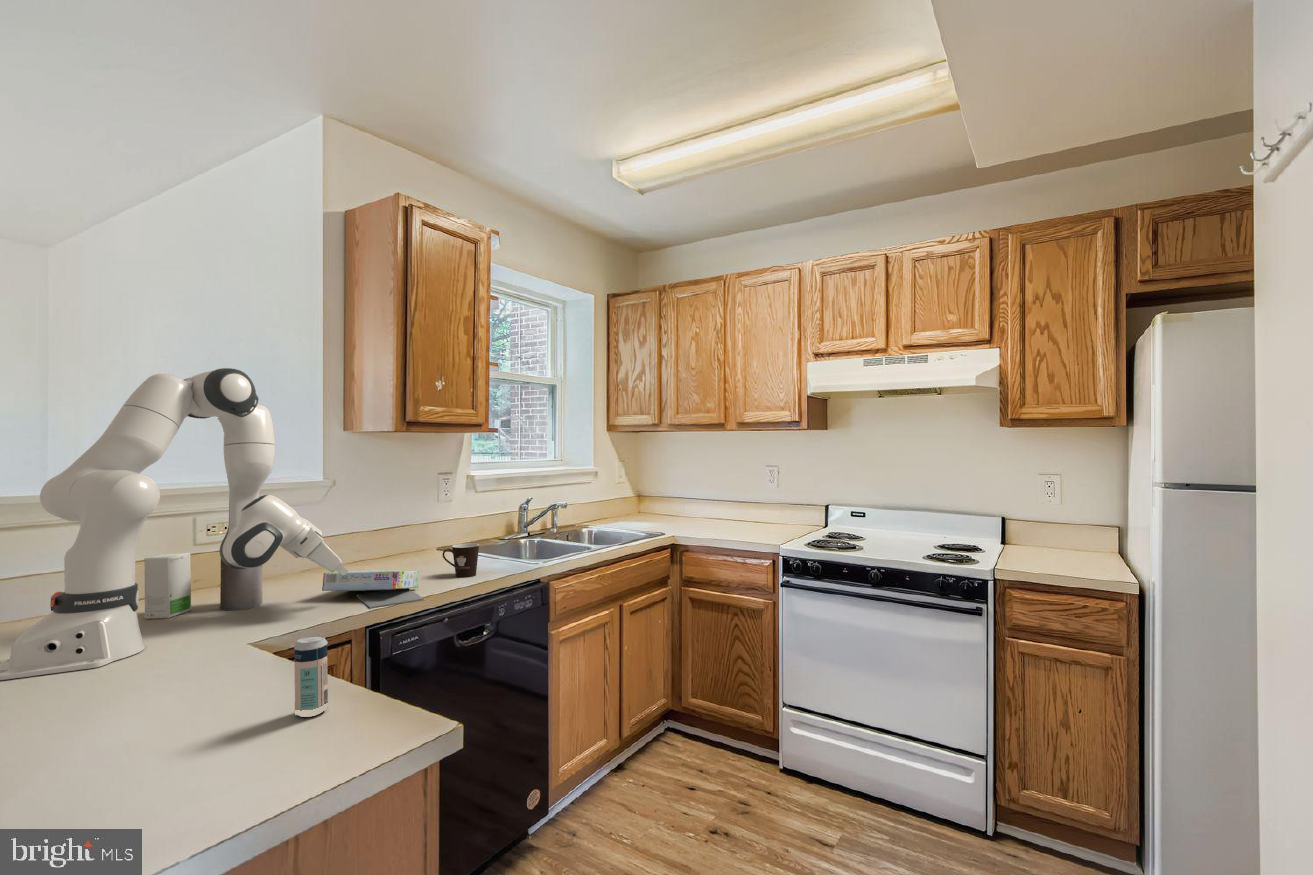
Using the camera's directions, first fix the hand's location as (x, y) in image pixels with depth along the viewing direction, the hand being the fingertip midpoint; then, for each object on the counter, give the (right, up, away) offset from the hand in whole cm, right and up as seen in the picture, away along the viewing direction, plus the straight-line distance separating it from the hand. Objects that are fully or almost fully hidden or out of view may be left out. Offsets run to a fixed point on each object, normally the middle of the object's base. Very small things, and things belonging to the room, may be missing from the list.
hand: (345, 572), depth 168 cm
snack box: (+1, -3, +3) cm, 5 cm away
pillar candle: (-29, -9, 0) cm, 30 cm away
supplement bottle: (+29, -8, -69) cm, 75 cm away
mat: (+9, -9, +6) cm, 14 cm away
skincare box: (-43, -9, -8) cm, 44 cm away
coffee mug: (+21, -9, +36) cm, 43 cm away
